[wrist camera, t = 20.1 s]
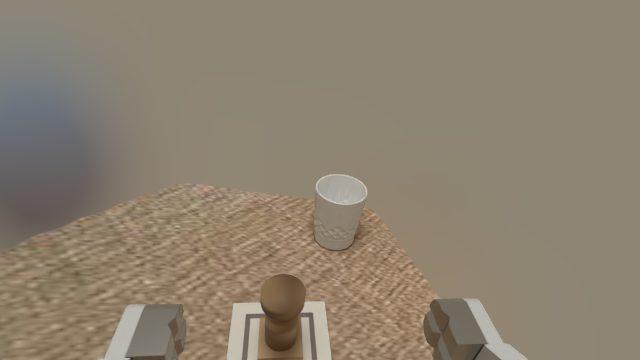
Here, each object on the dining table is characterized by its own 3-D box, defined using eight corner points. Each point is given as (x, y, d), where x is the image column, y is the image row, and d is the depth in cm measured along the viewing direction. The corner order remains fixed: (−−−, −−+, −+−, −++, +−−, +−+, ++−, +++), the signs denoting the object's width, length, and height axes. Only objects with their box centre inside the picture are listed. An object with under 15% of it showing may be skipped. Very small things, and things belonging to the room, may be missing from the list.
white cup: (362, 252, 56) (374, 203, 50) (314, 255, 54) (321, 205, 48) (350, 219, 62) (359, 173, 56) (306, 222, 60) (311, 174, 55)
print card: (220, 405, 36) (220, 403, 35) (233, 304, 45) (233, 302, 45) (335, 398, 37) (336, 396, 37) (324, 302, 47) (324, 301, 47)
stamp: (257, 368, 39) (257, 313, 33) (259, 327, 43) (259, 272, 37) (301, 366, 39) (309, 312, 34) (300, 326, 43) (306, 272, 38)
